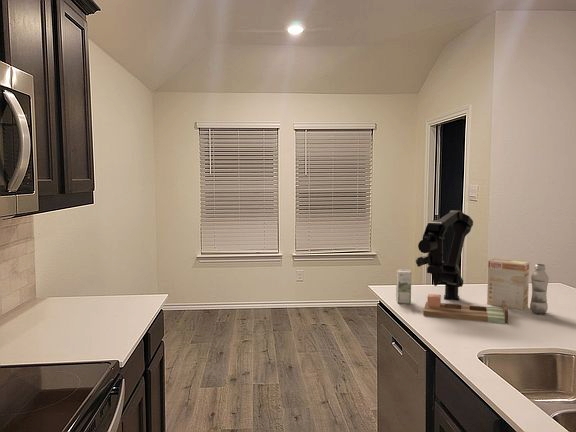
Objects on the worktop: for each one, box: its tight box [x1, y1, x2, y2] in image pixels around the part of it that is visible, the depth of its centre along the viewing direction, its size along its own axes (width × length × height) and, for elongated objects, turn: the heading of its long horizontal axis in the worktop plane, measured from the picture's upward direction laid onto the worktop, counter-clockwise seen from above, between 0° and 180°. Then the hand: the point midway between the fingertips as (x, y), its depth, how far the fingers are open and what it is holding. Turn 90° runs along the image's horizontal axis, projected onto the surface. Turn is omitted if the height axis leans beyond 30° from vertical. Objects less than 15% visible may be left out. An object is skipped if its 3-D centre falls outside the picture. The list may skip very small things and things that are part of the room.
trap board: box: [422, 301, 509, 324], centre depth 191 cm, size 14×31×5 cm, turn 70°
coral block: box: [427, 293, 442, 307], centre depth 198 cm, size 5×5×4 cm
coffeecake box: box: [486, 258, 530, 311], centre depth 203 cm, size 15×7×20 cm, turn 47°
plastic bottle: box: [529, 263, 550, 314], centre depth 192 cm, size 6×7×20 cm
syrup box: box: [395, 269, 412, 305], centre depth 210 cm, size 6×6×14 cm
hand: (435, 285), depth 205 cm, fingers closed
